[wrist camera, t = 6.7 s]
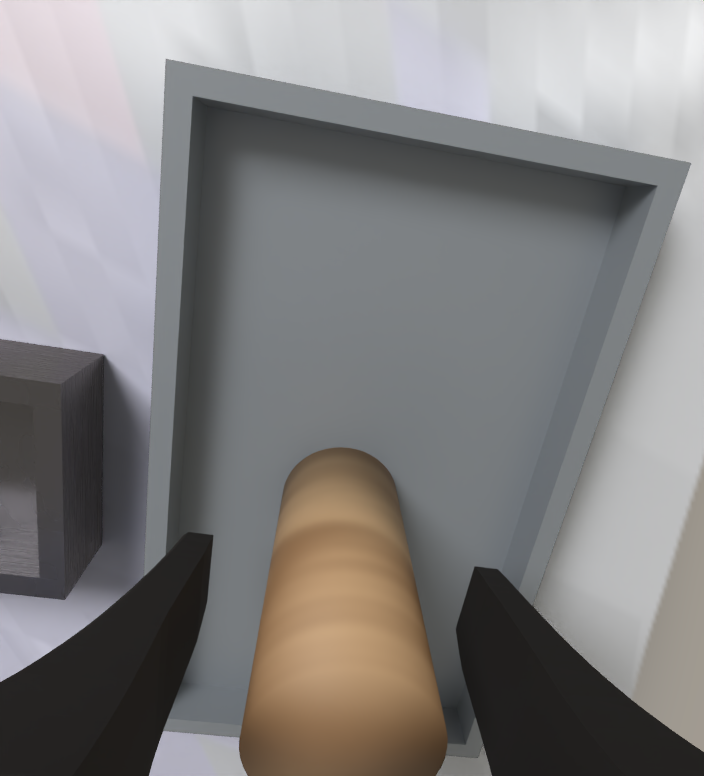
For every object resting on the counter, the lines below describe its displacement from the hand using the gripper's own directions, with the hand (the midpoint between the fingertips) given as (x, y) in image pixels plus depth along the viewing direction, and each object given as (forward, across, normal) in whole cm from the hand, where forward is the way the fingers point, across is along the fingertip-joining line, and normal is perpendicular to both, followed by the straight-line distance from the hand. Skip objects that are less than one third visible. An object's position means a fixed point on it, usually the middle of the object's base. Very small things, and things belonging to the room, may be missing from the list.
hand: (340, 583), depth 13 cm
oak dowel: (+4, 0, 0) cm, 4 cm away
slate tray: (+5, 0, -1) cm, 5 cm away
